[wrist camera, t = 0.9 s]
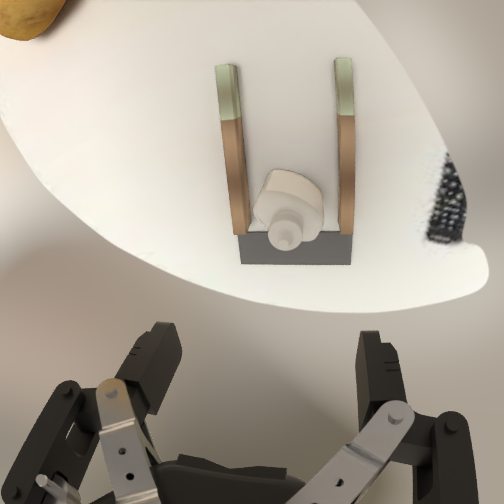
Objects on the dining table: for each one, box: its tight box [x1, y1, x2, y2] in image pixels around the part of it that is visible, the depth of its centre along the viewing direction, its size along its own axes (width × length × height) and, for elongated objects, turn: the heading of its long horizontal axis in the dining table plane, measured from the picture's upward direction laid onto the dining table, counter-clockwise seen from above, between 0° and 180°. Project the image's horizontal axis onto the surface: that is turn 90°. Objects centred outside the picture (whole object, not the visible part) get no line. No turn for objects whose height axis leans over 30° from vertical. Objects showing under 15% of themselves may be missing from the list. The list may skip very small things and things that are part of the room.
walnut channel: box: [215, 58, 355, 235], centre depth 28 cm, size 16×11×3 cm
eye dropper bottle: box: [253, 170, 324, 251], centre depth 26 cm, size 4×6×12 cm
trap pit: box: [238, 232, 352, 265], centre depth 34 cm, size 4×12×1 cm, turn 95°
